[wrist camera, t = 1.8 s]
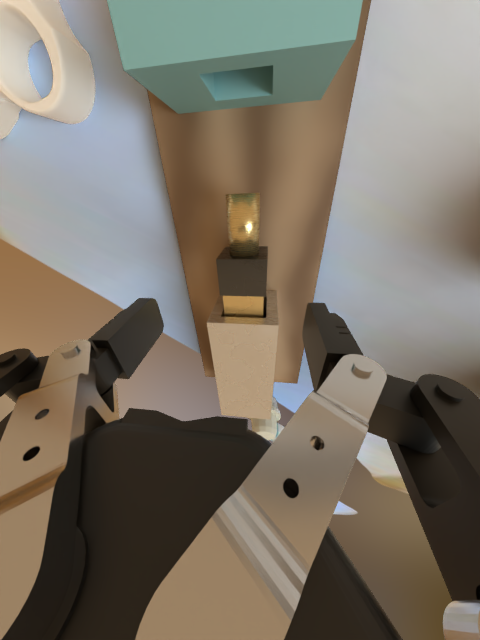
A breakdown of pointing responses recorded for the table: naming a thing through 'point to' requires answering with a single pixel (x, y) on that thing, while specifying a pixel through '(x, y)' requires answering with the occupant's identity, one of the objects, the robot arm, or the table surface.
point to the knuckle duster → (66, 58)
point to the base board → (275, 194)
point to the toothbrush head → (268, 424)
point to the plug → (243, 259)
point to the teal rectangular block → (234, 49)
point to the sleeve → (245, 359)
